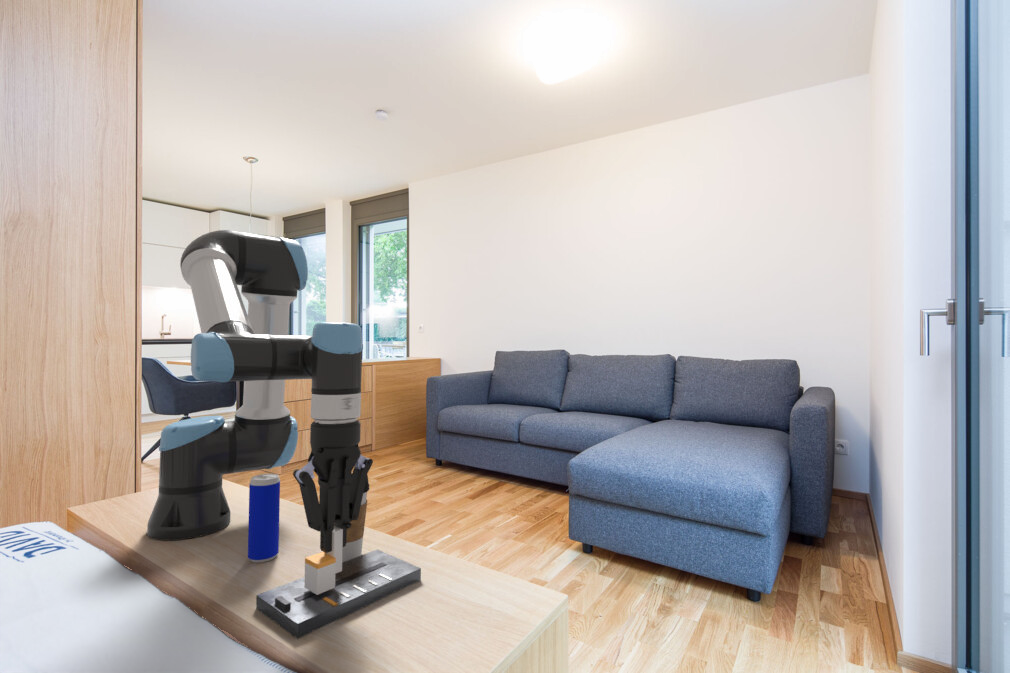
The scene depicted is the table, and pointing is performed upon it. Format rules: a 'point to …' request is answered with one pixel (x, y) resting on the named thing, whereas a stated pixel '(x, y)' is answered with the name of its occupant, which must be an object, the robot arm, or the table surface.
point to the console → (337, 593)
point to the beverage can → (263, 517)
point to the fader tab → (320, 572)
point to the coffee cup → (356, 531)
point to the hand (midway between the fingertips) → (332, 569)
